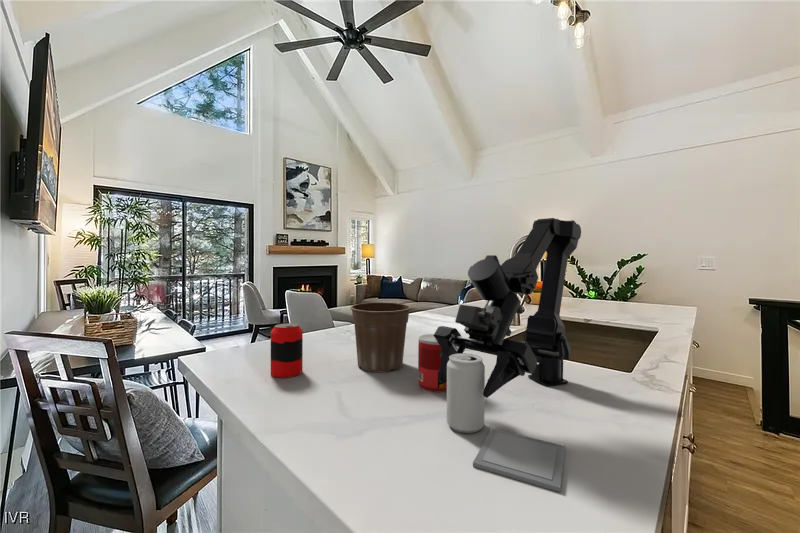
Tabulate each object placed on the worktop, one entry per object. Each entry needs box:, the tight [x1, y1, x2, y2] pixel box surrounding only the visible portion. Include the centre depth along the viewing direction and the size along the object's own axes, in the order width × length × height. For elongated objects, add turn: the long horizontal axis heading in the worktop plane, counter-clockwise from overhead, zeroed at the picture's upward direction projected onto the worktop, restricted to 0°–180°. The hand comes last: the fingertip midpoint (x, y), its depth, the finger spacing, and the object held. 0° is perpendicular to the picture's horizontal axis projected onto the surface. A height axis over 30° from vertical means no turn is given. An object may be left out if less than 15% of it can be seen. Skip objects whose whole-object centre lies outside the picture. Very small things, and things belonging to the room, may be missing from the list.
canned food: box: [417, 333, 447, 393], centre depth 79 cm, size 8×8×11 cm
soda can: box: [270, 322, 304, 379], centre depth 86 cm, size 8×8×12 cm
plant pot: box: [350, 302, 412, 373], centre depth 93 cm, size 16×16×16 cm
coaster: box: [472, 428, 566, 493], centre depth 50 cm, size 11×11×1 cm
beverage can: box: [446, 352, 486, 434], centre depth 60 cm, size 6×6×12 cm
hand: (461, 388), depth 59 cm, fingers open, 9 cm apart
